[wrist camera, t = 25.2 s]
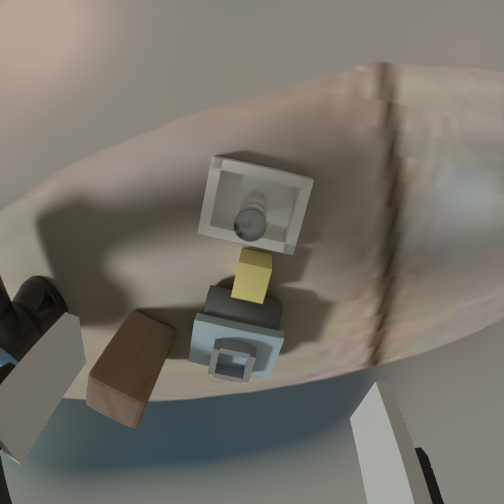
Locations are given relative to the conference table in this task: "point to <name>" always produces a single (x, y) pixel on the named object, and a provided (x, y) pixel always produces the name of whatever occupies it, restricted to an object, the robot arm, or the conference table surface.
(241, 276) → the yellow cube
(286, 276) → the conference table surface
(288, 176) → the tray
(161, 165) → the conference table surface
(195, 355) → the grey plate on cylinders
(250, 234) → the pin
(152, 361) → the block
